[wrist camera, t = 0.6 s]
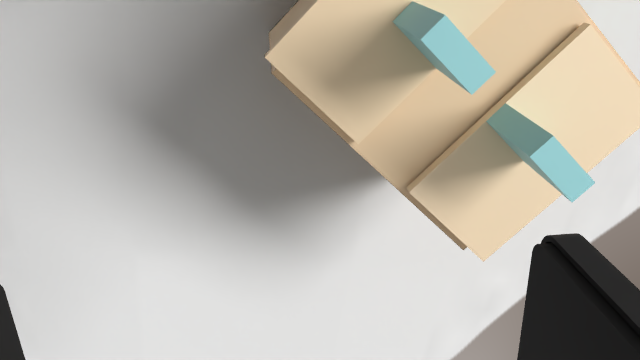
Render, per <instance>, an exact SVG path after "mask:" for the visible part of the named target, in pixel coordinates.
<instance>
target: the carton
mask: <svg viewBox="0 0 640 360" xmlns="http://www.w3.org/2000/svg"><path fill="white" fill-rule="evenodd" d="M583 23H588V24H591V25H592V27H593V28H594V29H595V31H596V32H597V33H598V34H599V36H600V37H601V38H602V40H603V41H604V42H605V44H606V45H607V46H608V47H609V49H610V50H611V51H612V53H613V54H614V55H615V56H616V58H617V59H618V60H619V62H620V63H621V64H622V66H623V67H624V68H625V69H626V71H627V72H628V73H629V75H630V76H631V77H632V78H633V80H634V81H635V82H636V84H637V85H638V86H639V87H640V82H639V81H638V79H637V78H636V77H635V75H634V74H633V73H632V72H631V70H630V69H629V68H628V66H627V65H626V64H625V62H624V61H623V60H622V59H621V57H620V56H619V55H618V53H617V52H616V51H615V49H614V48H613V47H612V46H611V44H610V43H609V42H608V40H607V39H606V38H605V36H604V35H603V34H602V33H601V31H600V30H599V29H598V27H597V26H596V25H595V23H594V22H593V21H592V20H591V18H590V17H589V16H588V14H587V13H586V12H585V10H584V9H583V8H582V7H581V5H580V4H579V3H578V1H577V0H298V2H297V3H296V4H295V5H294V6H293V7H292V8H291V9H290V10H289V11H288V12H287V14H286V15H285V16H284V17H283V18H282V19H281V20H280V21H279V22H278V23H277V24H276V26H275V27H274V28H273V29H272V30H271V31H270V32H269V45H270V50H269V51H268V52H267V53H266V54H265V58H266V59H267V60H268V61H269V62H270V63H271V71H272V74H273V75H274V76H275V77H276V78H277V79H278V80H279V81H280V82H282V83H283V84H284V85H285V86H286V87H287V88H288V89H289V90H290V91H291V92H292V93H293V94H295V95H296V96H297V97H298V98H299V99H300V100H301V101H302V102H303V103H304V104H305V105H306V106H308V107H309V108H310V109H311V110H312V111H313V112H314V113H315V114H316V115H317V116H318V117H319V118H321V119H322V120H323V121H324V122H325V123H326V124H327V125H328V126H329V127H330V128H331V129H332V130H334V131H335V132H336V133H337V134H338V135H339V136H340V137H341V138H342V139H343V140H344V141H345V142H347V143H348V144H349V145H350V146H351V147H352V148H353V149H354V150H355V151H356V152H357V153H358V154H360V155H361V156H362V157H363V158H364V159H365V160H366V161H367V162H368V163H369V164H370V165H371V166H373V167H374V168H375V169H376V170H377V171H378V172H379V173H380V174H381V175H382V176H383V177H384V178H386V179H387V180H388V181H389V182H390V183H391V184H392V185H393V186H394V187H395V188H396V189H397V190H399V191H400V192H401V193H402V194H403V195H404V196H405V197H406V198H407V199H408V200H409V201H410V202H412V203H413V204H414V205H415V206H416V207H417V208H418V209H419V210H420V211H421V212H422V213H423V214H425V215H426V216H427V217H428V218H429V219H430V220H431V221H432V222H433V223H434V224H435V225H436V226H438V227H439V228H440V229H441V230H442V231H443V232H444V233H445V234H446V235H447V236H448V237H450V238H451V239H452V240H453V241H454V242H455V243H456V244H457V245H458V246H459V247H460V248H461V249H463V250H464V249H465V248H467V246H466V245H465V244H464V243H463V242H462V241H461V240H460V239H458V238H457V237H456V236H455V235H454V234H453V233H452V232H451V231H450V230H449V229H448V228H447V227H446V226H445V225H443V224H442V223H441V222H440V221H439V220H438V219H437V218H436V217H435V216H434V215H433V214H432V213H431V212H429V211H428V210H427V209H426V208H425V207H424V206H423V205H422V204H421V203H420V202H419V201H418V200H417V199H415V198H414V197H413V196H412V195H411V194H410V193H409V192H408V190H407V188H406V187H407V186H408V185H409V184H411V183H412V182H413V181H414V180H415V179H416V178H417V177H418V176H419V175H420V174H421V173H422V172H423V171H425V170H426V169H427V168H428V167H429V166H430V165H431V164H432V163H433V162H434V161H435V160H436V159H437V158H438V157H440V156H441V155H442V154H443V153H444V152H445V151H446V150H447V149H448V148H449V147H450V146H451V145H452V144H454V143H455V142H456V141H457V140H458V139H459V138H460V137H461V136H462V135H463V134H464V133H465V132H466V131H468V130H469V129H470V128H471V127H472V126H473V125H474V124H475V123H476V122H477V121H478V120H479V119H480V118H482V117H483V116H484V115H485V114H486V113H487V112H488V111H489V110H490V109H491V108H492V107H493V106H494V105H496V104H497V103H498V102H499V101H500V100H501V99H502V98H503V97H504V96H505V95H506V94H507V93H508V92H510V91H511V90H512V89H513V88H514V87H515V86H516V85H517V84H518V83H519V82H520V81H521V80H522V79H524V78H525V77H526V76H527V75H528V74H529V73H530V72H531V71H532V70H533V69H534V68H535V67H536V66H537V65H539V64H540V63H541V62H542V61H543V60H544V59H545V58H546V57H547V56H548V55H549V54H550V53H551V52H553V51H554V50H555V49H556V48H557V47H558V46H559V45H560V44H561V43H562V42H563V41H564V40H565V39H567V38H568V37H569V36H570V35H571V34H572V33H573V32H574V31H575V30H576V29H577V28H578V27H579V26H581V25H582V24H583Z"/></svg>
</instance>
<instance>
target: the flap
mask: <svg viewBox="0 0 640 360" xmlns="http://www.w3.org/2000/svg"><path fill="white" fill-rule="evenodd" d="M639 128H640V87H639V86H638V85H637V84H636V82H635V81H634V80H633V78H632V77H631V76H630V75H629V73H628V72H627V71H626V69H625V68H624V67H623V66H622V64H621V63H620V62H619V60H618V59H617V58H616V56H615V55H614V54H613V53H612V51H611V50H610V49H609V47H608V46H607V45H606V44H605V42H604V41H603V40H602V38H601V37H600V36H599V34H598V33H597V32H596V31H595V29H594V28H593V27H592V25H591V24H588V23H583V24H582V25H581V26H579V27H578V28H577V29H576V30H575V31H574V32H573V33H572V34H571V35H570V36H569V37H568V38H567V39H565V40H564V41H563V42H562V43H561V44H560V45H559V46H558V47H557V48H556V49H555V50H554V51H553V52H551V53H550V54H549V55H548V56H547V57H546V58H545V59H544V60H543V61H542V62H541V63H540V64H539V65H537V66H536V67H535V68H534V69H533V70H532V71H531V72H530V73H529V74H528V75H527V76H526V77H525V78H524V79H522V80H521V81H520V82H519V83H518V84H517V85H516V86H515V87H514V88H513V89H512V90H511V91H510V92H508V93H507V94H506V95H505V96H504V97H503V98H502V99H501V100H500V101H499V102H498V103H497V104H496V105H494V106H493V107H492V108H491V109H490V110H489V111H488V112H487V113H486V114H485V115H484V116H483V117H482V118H480V119H479V120H478V121H477V122H476V123H475V124H474V125H473V126H472V127H471V128H470V129H469V130H468V131H466V132H465V133H464V134H463V135H462V136H461V137H460V138H459V139H458V140H457V141H456V142H455V143H454V144H452V145H451V146H450V147H449V148H448V149H447V150H446V151H445V152H444V153H443V154H442V155H441V156H440V157H438V158H437V159H436V160H435V161H434V162H433V163H432V164H431V165H430V166H429V167H428V168H427V169H426V170H425V171H423V172H422V173H421V174H420V175H419V176H418V177H417V178H416V179H415V180H414V181H413V182H412V183H411V184H409V185H408V186H407V187H406V188H407V190H408V192H409V193H410V194H411V195H412V196H413V197H414V198H415V199H417V200H418V201H419V202H420V203H421V204H422V205H423V206H424V207H425V208H426V209H427V210H428V211H429V212H431V213H432V214H433V215H434V216H435V217H436V218H437V219H438V220H439V221H440V222H441V223H442V224H443V225H445V226H446V227H447V228H448V229H449V230H450V231H451V232H452V233H453V234H454V235H455V236H456V237H457V238H458V239H460V240H461V241H462V242H463V243H464V244H465V245H466V246H467V247H468V248H469V249H470V250H471V251H472V252H474V253H475V254H476V255H477V256H478V257H479V258H480V259H481V260H482V261H483V262H484V261H485V260H486V259H487V258H488V257H489V256H491V255H492V254H493V253H494V252H495V251H496V250H498V249H499V248H500V247H501V246H502V245H503V244H505V243H506V242H507V241H508V240H509V239H510V238H512V237H513V236H514V235H515V234H516V233H517V232H519V231H520V230H521V229H522V228H523V227H524V226H526V225H527V224H528V223H529V222H530V221H531V220H533V219H534V218H535V217H536V216H537V215H538V214H540V213H541V212H542V211H543V210H544V209H545V208H547V207H548V206H549V205H550V204H551V203H553V202H554V201H555V200H556V199H557V198H558V197H560V196H561V195H562V194H563V195H564V196H565V197H566V198H567V199H569V200H570V201H571V202H573V201H574V200H576V199H577V198H578V197H579V196H580V195H581V194H583V193H584V192H585V191H586V190H587V189H589V188H590V187H591V186H592V185H593V184H594V183H595V182H594V181H593V180H592V179H591V177H590V176H589V175H588V174H587V173H588V172H589V171H590V170H591V169H592V168H593V167H595V166H596V165H597V164H598V163H599V162H600V161H602V160H603V159H604V158H605V157H606V156H607V155H609V154H610V153H611V152H612V151H613V150H614V149H616V148H617V147H618V146H619V145H620V144H621V143H623V142H624V141H625V140H626V139H627V138H628V137H630V136H631V135H632V134H633V133H634V132H636V131H637V130H638V129H639Z"/></svg>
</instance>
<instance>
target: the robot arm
mask: <svg viewBox="0 0 640 360" xmlns="http://www.w3.org/2000/svg"><path fill="white" fill-rule="evenodd" d="M0 360H25V357H24V354H23V350H22V347H21V344H20V340H19V337H18V334H17V330H16V327H15V324H14V320H13V317H12V314H11V310H10V307H9V304H8V300H7V297H6V294H5V291H4V288H3V287H2V286H1V285H0ZM517 360H640V290H639V289H638V288H637V287H636V286H634V284H633V283H631V282H630V281H629V280H628V279H627V278H626V277H625V276H624V275H623V274H622V273H621V272H620V271H619V270H618V269H617V268H616V267H615V266H614V265H612V264H611V263H610V262H609V261H608V260H607V259H606V258H605V257H604V256H603V255H602V254H601V253H600V252H599V251H598V250H597V249H596V248H594V247H593V246H592V245H591V244H590V243H589V242H588V241H587V240H586V239H585V238H584V237H583V236H581V235H580V234H561V235H548V236H545V237H544V238H543V240H542V242H541V244H537V245H535V246H534V248H533V251H532V258H531V265H530V272H529V279H528V286H527V294H526V301H525V308H524V316H523V322H522V330H521V337H520V344H519V352H518V358H517Z"/></svg>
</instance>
